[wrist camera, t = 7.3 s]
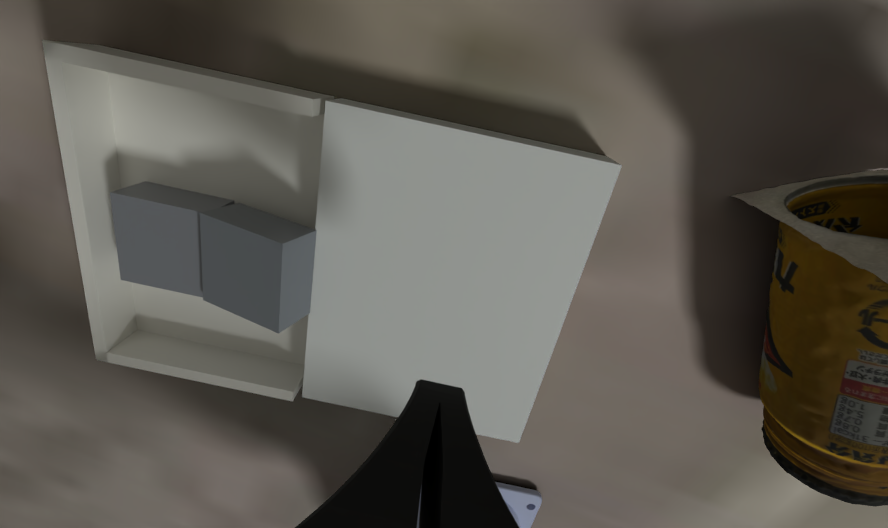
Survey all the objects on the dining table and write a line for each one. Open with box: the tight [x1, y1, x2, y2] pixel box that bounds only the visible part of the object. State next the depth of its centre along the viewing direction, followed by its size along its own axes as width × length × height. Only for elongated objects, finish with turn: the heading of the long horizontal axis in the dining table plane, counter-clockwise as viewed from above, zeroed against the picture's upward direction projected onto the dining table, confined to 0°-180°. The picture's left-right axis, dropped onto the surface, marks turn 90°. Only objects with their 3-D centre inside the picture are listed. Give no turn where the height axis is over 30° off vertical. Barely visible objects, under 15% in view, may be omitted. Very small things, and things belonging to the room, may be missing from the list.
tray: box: [42, 40, 335, 401], centre depth 19 cm, size 14×10×2 cm
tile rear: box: [110, 181, 234, 297], centre depth 19 cm, size 4×4×2 cm
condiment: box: [730, 169, 888, 506], centre depth 16 cm, size 7×8×12 cm
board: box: [302, 98, 622, 443], centre depth 19 cm, size 14×11×2 cm
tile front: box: [200, 203, 317, 334], centre depth 18 cm, size 4×4×2 cm
